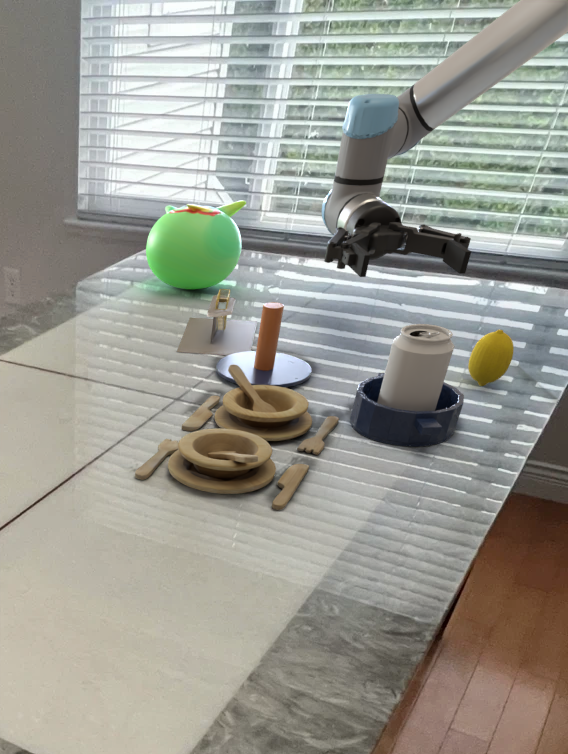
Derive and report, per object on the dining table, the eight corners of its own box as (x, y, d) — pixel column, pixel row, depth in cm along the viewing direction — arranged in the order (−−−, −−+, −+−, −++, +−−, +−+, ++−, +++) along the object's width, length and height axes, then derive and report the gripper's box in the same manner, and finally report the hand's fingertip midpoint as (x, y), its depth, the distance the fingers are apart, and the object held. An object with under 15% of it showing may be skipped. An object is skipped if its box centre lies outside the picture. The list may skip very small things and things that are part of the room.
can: (395, 406, 119) (419, 316, 111) (442, 423, 115) (470, 331, 106) (361, 420, 116) (384, 329, 108) (408, 438, 111) (435, 344, 103)
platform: (257, 321, 149) (263, 281, 145) (250, 356, 136) (256, 313, 132) (189, 317, 152) (193, 277, 147) (176, 351, 139) (180, 309, 135)
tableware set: (281, 513, 99) (291, 466, 95) (128, 479, 106) (130, 434, 102) (342, 419, 118) (352, 376, 114) (208, 396, 125) (213, 355, 121)
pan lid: (298, 356, 136) (310, 289, 129) (320, 391, 125) (335, 319, 118) (209, 359, 136) (216, 291, 129) (223, 393, 126) (233, 322, 119)
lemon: (498, 395, 122) (519, 338, 117) (458, 389, 124) (476, 332, 119) (503, 382, 126) (523, 326, 120) (464, 376, 128) (482, 321, 122)
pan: (426, 397, 122) (436, 366, 119) (476, 454, 108) (488, 420, 105) (334, 399, 123) (341, 368, 120) (371, 456, 109) (380, 422, 106)
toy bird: (133, 294, 163) (138, 207, 153) (158, 271, 174) (164, 188, 164) (225, 303, 157) (236, 213, 147) (244, 278, 168) (256, 193, 158)
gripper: (442, 251, 133) (497, 291, 117) (284, 257, 133) (318, 297, 118) (457, 196, 128) (517, 230, 112) (292, 202, 128) (329, 236, 113)
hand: (415, 264), depth 115 cm, fingers open, 13 cm apart
